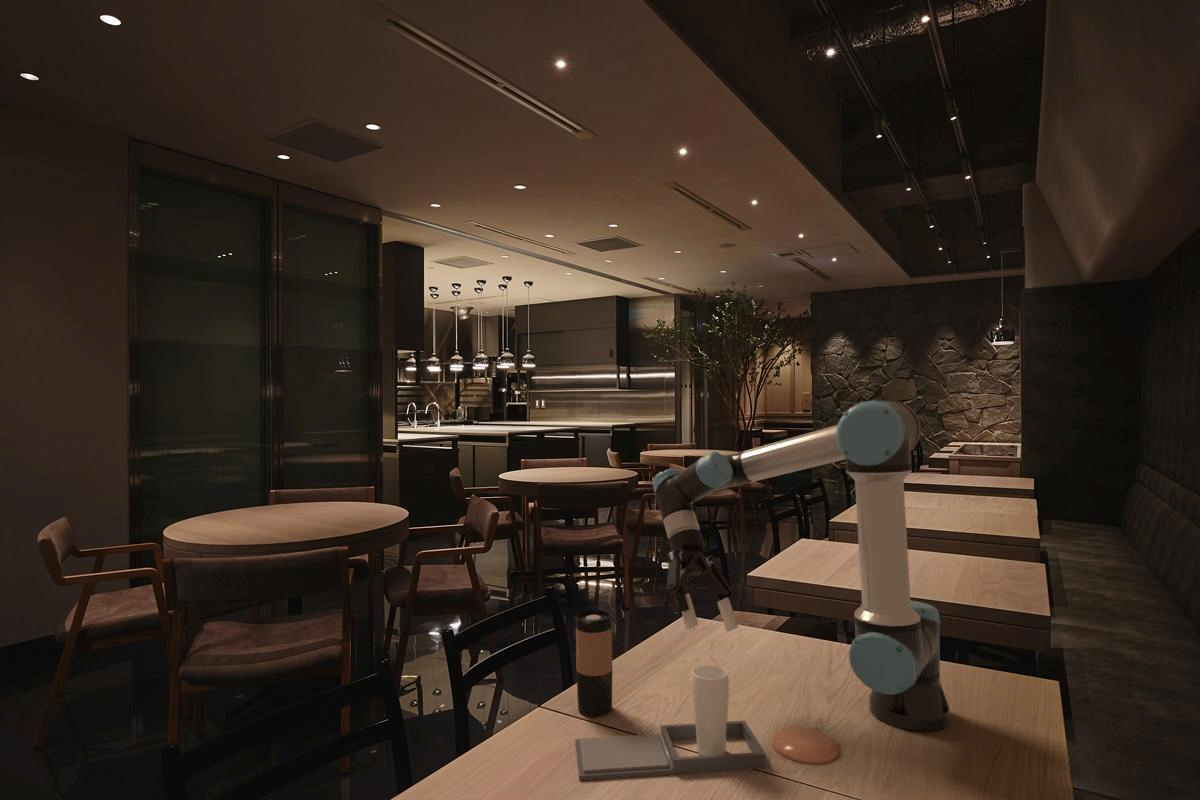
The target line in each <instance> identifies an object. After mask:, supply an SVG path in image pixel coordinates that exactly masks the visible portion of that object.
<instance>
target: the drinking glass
mask: <svg viewBox="0 0 1200 800" xmlns="http://www.w3.org/2000/svg"><path fill="white" fill-rule="evenodd" d="M691 675H692V676H691V695H692V696H691V697H692V705H693V707H692V708H693V716H694V724H695V727H696V738H695V739H696V751H697V753H698V755H699V756H707V755H723V754H726V752H727V736H726V732H727V722H728V716H729V715H728V714H729V703H730V702H729V700H730V684H729V683H730V678H729V672H728V671H727V670H726V669H725V668H723V667H722V666H717V665H700V666H697V667H695V668H693V669H692V673H691Z"/></svg>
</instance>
